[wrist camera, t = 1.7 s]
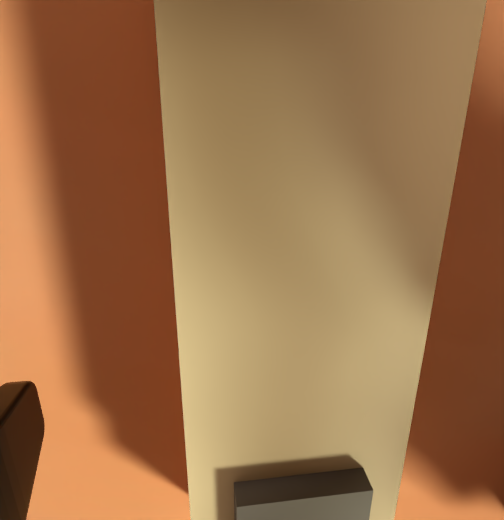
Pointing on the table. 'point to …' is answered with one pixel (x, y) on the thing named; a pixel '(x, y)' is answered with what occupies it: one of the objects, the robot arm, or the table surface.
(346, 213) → the beam with grey square
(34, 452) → the robot arm
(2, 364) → the table surface
